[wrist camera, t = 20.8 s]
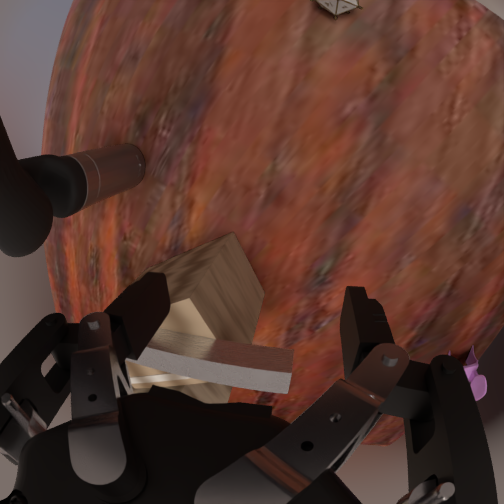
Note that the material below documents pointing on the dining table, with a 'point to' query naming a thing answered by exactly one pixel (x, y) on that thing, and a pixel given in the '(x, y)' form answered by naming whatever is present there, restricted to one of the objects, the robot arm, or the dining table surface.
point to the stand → (205, 309)
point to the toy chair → (475, 376)
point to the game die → (338, 6)
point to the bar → (219, 361)
